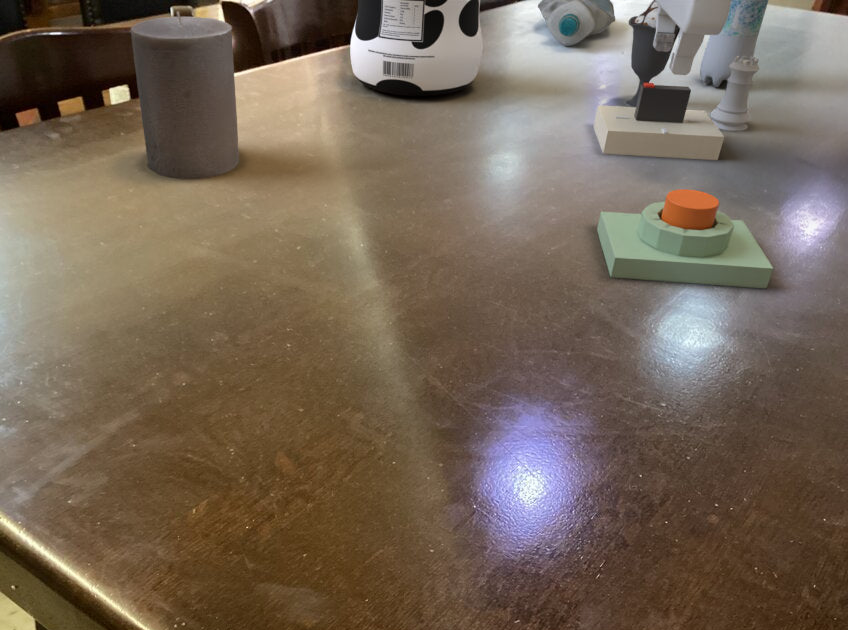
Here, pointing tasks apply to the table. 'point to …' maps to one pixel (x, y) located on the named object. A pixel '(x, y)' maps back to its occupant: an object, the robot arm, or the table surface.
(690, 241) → the button block
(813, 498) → the table surface
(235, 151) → the pillar candle
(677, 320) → the table surface
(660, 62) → the sundae
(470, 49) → the milk container
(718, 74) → the bottle
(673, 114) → the black plate
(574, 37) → the detergent
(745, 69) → the rook chess piece
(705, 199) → the button
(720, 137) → the cream flat block
